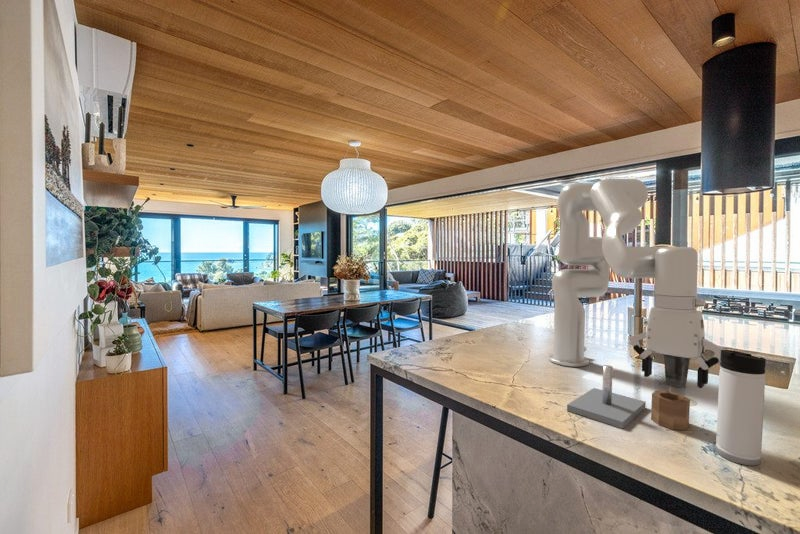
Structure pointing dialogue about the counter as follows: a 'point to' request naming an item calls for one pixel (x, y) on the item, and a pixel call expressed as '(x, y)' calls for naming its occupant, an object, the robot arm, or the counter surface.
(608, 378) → the metal rod
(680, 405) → the walnut bead
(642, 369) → the robot arm
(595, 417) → the rod board
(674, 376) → the beverage cup
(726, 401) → the travel mug
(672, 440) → the counter surface
